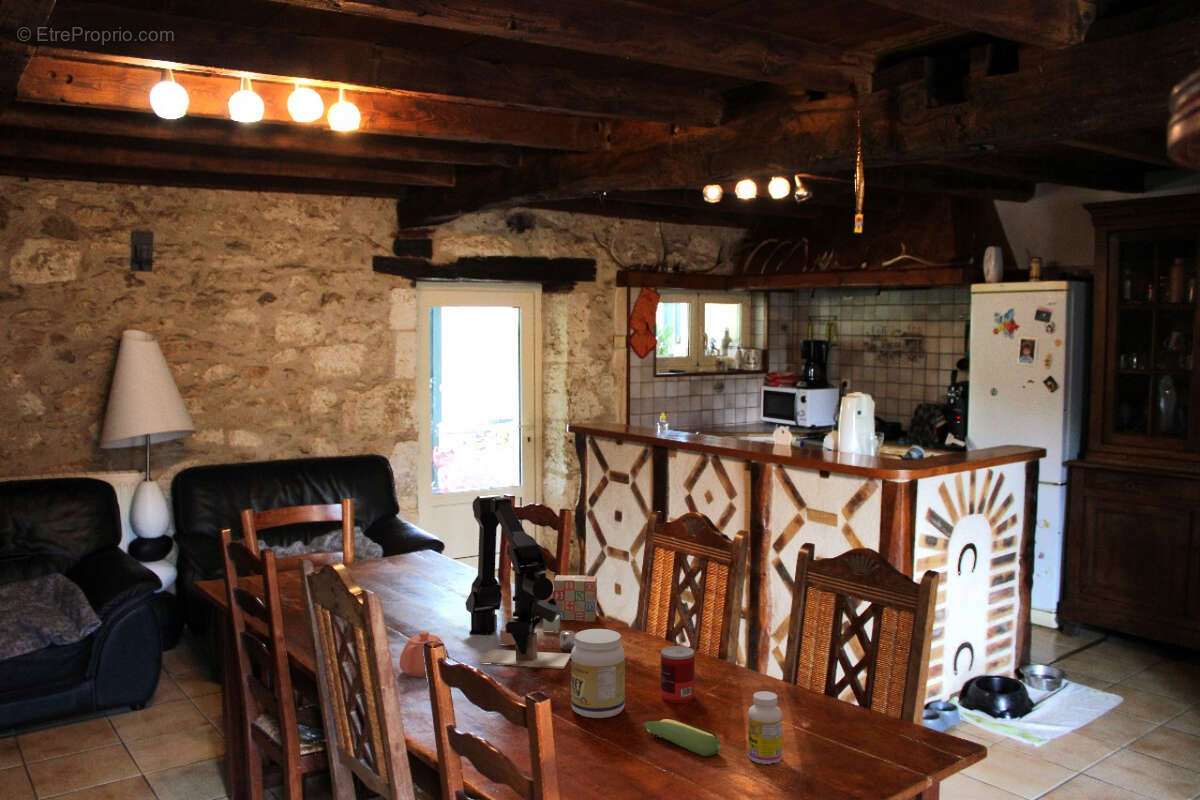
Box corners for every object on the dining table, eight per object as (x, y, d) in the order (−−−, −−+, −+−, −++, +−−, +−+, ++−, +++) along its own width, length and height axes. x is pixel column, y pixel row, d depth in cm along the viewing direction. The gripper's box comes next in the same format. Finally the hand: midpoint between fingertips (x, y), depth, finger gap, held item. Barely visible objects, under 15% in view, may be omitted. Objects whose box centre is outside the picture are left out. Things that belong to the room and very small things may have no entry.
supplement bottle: (744, 752, 197) (744, 689, 197) (776, 750, 198) (777, 688, 197) (752, 766, 191) (752, 702, 190) (785, 765, 191) (786, 700, 190)
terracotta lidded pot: (459, 668, 248) (458, 628, 247) (426, 686, 235) (426, 644, 234) (418, 662, 253) (418, 623, 252) (385, 679, 240) (384, 638, 239)
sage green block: (543, 632, 277) (543, 618, 277) (546, 628, 281) (546, 614, 281) (557, 633, 277) (557, 619, 277) (560, 629, 281) (559, 615, 280)
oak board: (479, 664, 251) (479, 661, 251) (490, 651, 260) (490, 649, 260) (563, 668, 247) (563, 666, 247) (571, 656, 257) (571, 653, 257)
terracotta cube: (500, 645, 266) (500, 630, 266) (504, 640, 270) (503, 626, 270) (514, 646, 266) (514, 631, 265) (518, 641, 269) (518, 627, 269)
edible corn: (711, 763, 193) (711, 741, 192) (637, 734, 207) (637, 713, 207) (728, 755, 196) (728, 733, 196) (654, 727, 210) (654, 706, 210)
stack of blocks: (523, 620, 290) (522, 579, 289) (526, 614, 296) (526, 574, 295) (595, 622, 288) (595, 580, 287) (597, 616, 294) (597, 575, 293)
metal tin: (558, 649, 262) (558, 634, 262) (561, 644, 266) (561, 630, 266) (573, 650, 262) (573, 635, 262) (576, 645, 266) (576, 630, 265)
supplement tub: (562, 704, 223) (562, 630, 222) (611, 696, 228) (611, 624, 227) (583, 723, 212) (583, 646, 211) (634, 714, 217) (634, 639, 216)
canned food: (697, 693, 230) (697, 647, 229) (689, 705, 222) (689, 658, 221) (666, 689, 232) (666, 644, 231) (656, 701, 225) (656, 654, 224)
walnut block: (515, 660, 252) (515, 637, 251) (520, 654, 256) (519, 631, 256) (532, 661, 251) (532, 638, 251) (536, 655, 256) (536, 632, 255)
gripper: (548, 602, 242) (548, 664, 243) (563, 583, 260) (564, 641, 261) (504, 600, 244) (505, 661, 245) (522, 581, 262) (523, 638, 263)
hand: (526, 650), depth 254 cm, fingers open, 5 cm apart
